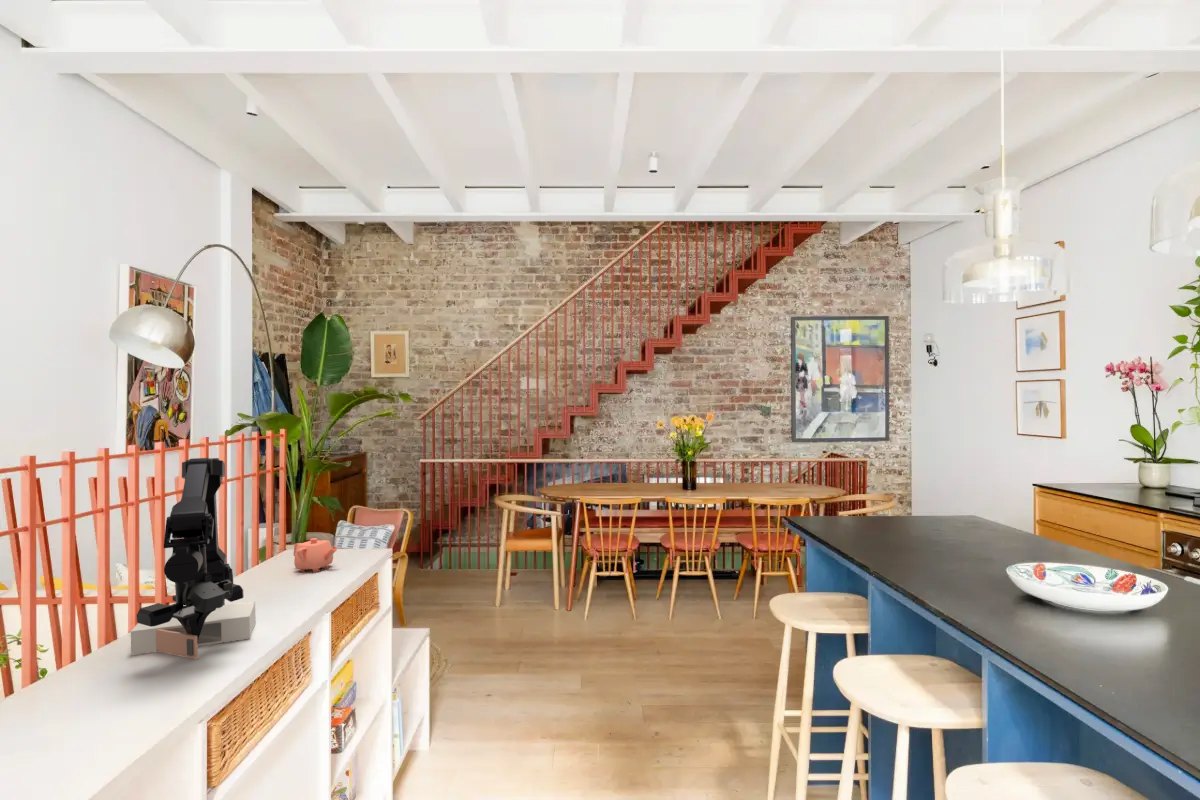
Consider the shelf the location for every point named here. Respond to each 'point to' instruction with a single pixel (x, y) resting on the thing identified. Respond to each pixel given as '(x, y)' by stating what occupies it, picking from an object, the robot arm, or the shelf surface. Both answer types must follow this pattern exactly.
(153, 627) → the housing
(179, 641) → the side door
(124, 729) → the shelf surface
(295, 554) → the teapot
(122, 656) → the shelf surface
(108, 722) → the shelf surface
